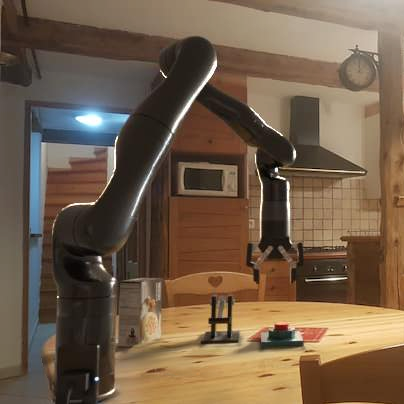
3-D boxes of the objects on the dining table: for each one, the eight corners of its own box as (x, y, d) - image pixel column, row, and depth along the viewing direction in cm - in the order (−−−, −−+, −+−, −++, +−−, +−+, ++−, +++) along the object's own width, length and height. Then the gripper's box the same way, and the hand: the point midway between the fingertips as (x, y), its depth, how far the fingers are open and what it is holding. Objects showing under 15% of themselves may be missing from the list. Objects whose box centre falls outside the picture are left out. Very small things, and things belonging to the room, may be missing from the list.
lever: (229, 326, 125) (229, 317, 124) (208, 327, 124) (208, 317, 124) (232, 303, 137) (232, 295, 136) (212, 304, 136) (212, 295, 135)
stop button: (289, 331, 129) (289, 324, 129) (274, 332, 128) (274, 324, 128) (288, 328, 132) (288, 321, 132) (274, 329, 132) (274, 322, 132)
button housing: (303, 349, 125) (303, 332, 125) (261, 351, 123) (261, 334, 123) (299, 339, 137) (299, 324, 137) (260, 340, 135) (261, 325, 135)
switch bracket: (238, 345, 129) (239, 297, 130) (200, 347, 127) (201, 298, 128) (240, 336, 141) (240, 292, 141) (205, 337, 139) (206, 292, 140)
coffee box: (139, 338, 136) (141, 277, 137) (161, 340, 135) (163, 277, 136) (116, 346, 127) (118, 280, 128) (140, 347, 126) (141, 281, 127)
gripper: (246, 219, 126) (245, 286, 126) (304, 219, 129) (304, 284, 129) (246, 219, 134) (246, 282, 133) (301, 219, 137) (301, 281, 136)
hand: (274, 283), depth 131 cm, fingers open, 8 cm apart
